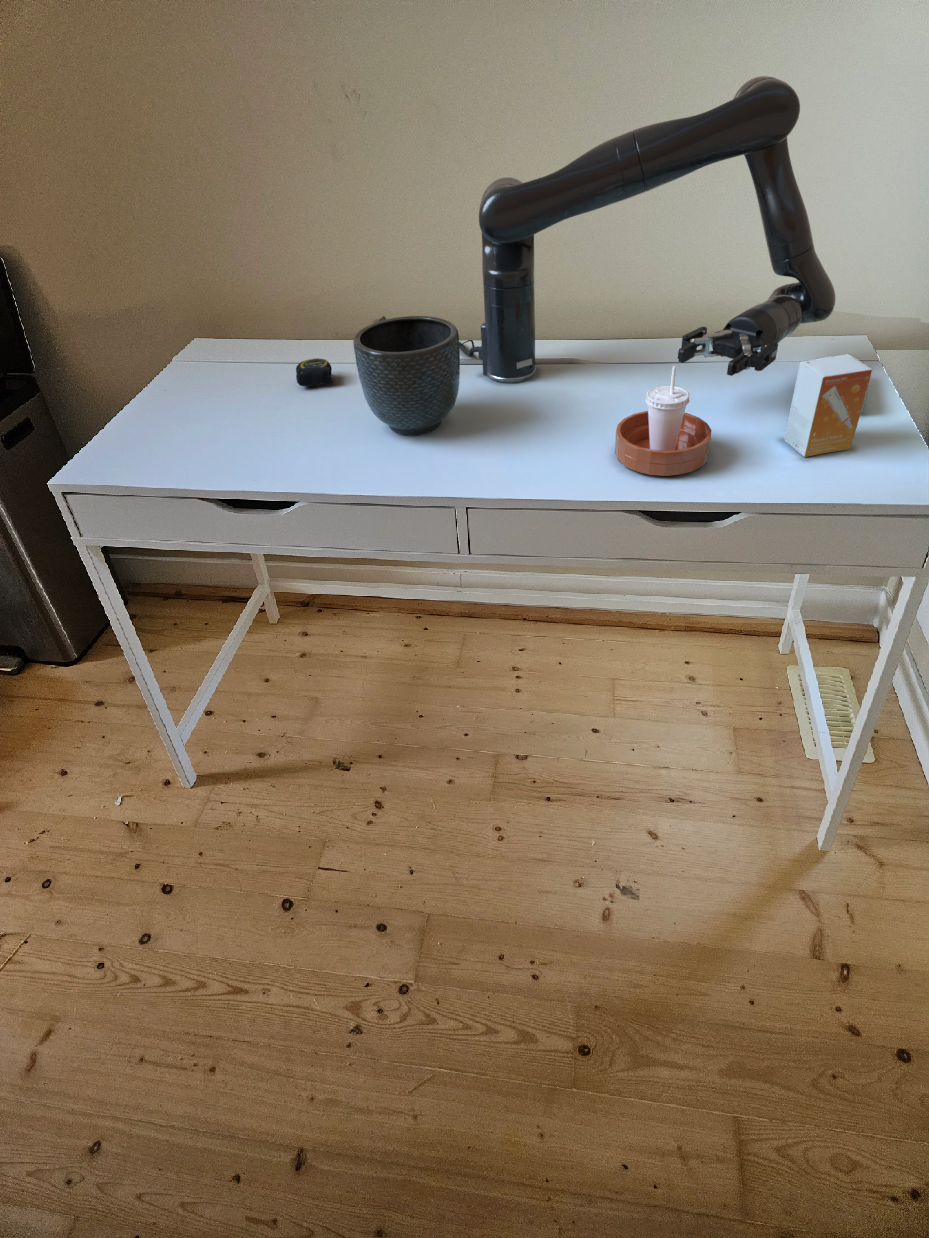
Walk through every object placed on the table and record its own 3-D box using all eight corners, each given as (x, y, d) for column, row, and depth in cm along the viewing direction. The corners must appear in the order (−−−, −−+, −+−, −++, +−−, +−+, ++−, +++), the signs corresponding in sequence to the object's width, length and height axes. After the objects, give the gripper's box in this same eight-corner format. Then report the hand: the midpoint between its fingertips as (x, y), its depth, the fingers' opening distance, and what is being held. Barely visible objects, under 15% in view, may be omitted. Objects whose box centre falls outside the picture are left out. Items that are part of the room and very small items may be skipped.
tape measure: (298, 391, 156) (294, 373, 154) (299, 377, 162) (295, 359, 159) (333, 387, 157) (330, 369, 154) (333, 373, 162) (330, 355, 160)
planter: (349, 441, 139) (333, 349, 129) (392, 399, 151) (381, 312, 141) (441, 453, 133) (432, 358, 123) (479, 408, 145) (473, 318, 135)
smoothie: (683, 463, 124) (693, 375, 116) (640, 461, 126) (647, 374, 117) (683, 443, 129) (693, 358, 120) (641, 442, 130) (648, 357, 122)
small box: (804, 458, 124) (822, 377, 116) (782, 440, 129) (798, 360, 121) (852, 450, 125) (873, 368, 117) (829, 432, 130) (848, 352, 122)
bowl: (599, 466, 127) (600, 440, 124) (637, 428, 135) (639, 403, 133) (687, 487, 120) (690, 460, 117) (720, 446, 129) (724, 420, 126)
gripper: (720, 300, 136) (667, 329, 128) (802, 316, 128) (751, 349, 120) (714, 344, 141) (662, 375, 132) (792, 363, 133) (743, 397, 124)
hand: (704, 363), depth 126 cm, fingers open, 8 cm apart
